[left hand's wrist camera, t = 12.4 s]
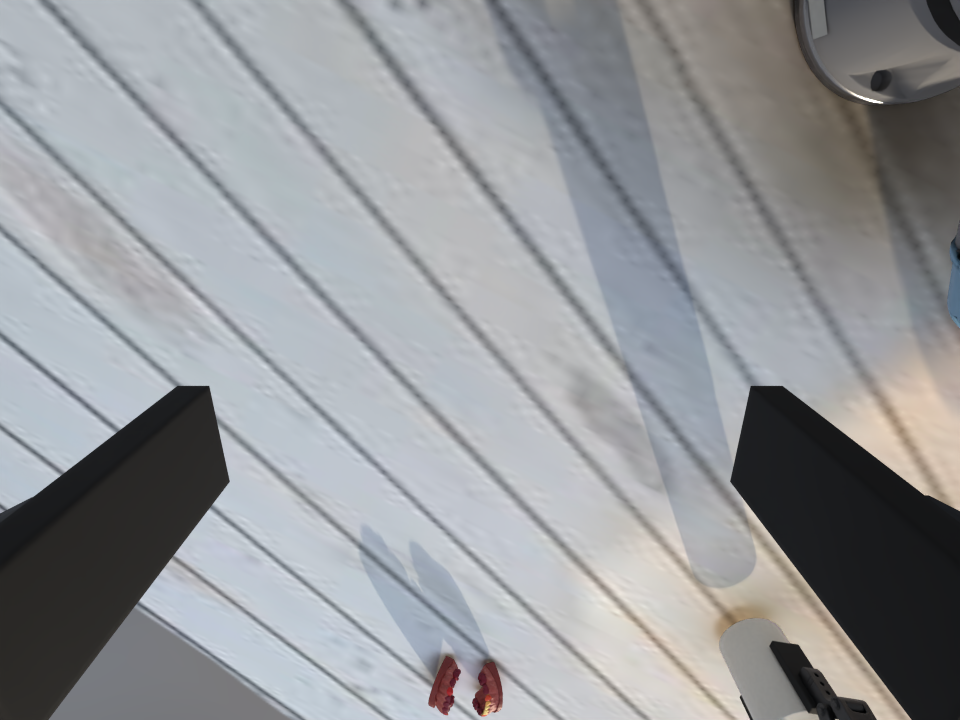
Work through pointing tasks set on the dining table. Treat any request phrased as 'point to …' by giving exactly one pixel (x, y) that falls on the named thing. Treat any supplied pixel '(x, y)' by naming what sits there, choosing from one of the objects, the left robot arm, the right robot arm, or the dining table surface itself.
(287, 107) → the dining table surface
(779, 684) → the canister
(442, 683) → the dental model
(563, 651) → the dining table surface
